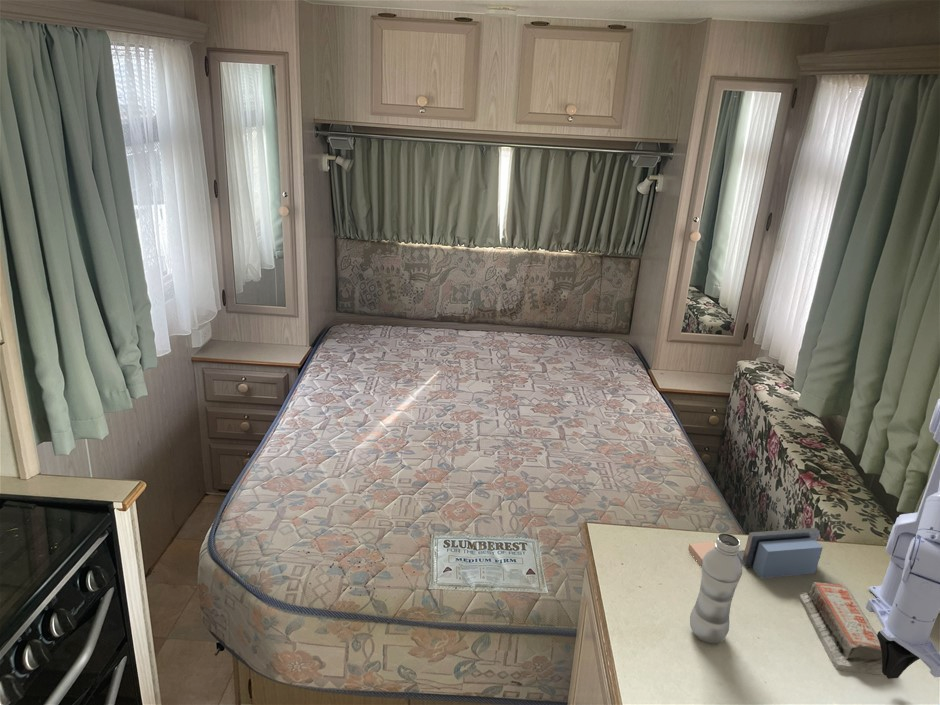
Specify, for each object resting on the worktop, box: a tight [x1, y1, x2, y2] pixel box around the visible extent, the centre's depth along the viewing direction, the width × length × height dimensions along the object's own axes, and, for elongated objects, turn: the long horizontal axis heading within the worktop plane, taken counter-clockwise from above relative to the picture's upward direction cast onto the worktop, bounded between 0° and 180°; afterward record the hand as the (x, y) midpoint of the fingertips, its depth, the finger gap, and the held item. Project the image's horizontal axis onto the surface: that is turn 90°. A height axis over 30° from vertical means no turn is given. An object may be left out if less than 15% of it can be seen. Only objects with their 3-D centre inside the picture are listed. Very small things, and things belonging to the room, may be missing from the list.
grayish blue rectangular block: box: [752, 538, 824, 579], centre depth 137 cm, size 12×3×6 cm, turn 101°
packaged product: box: [798, 581, 885, 676], centre depth 122 cm, size 18×5×10 cm
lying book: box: [687, 540, 716, 567], centre depth 141 cm, size 8×5×2 cm, turn 102°
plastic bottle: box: [689, 532, 743, 644], centre depth 117 cm, size 6×7×20 cm
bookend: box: [737, 527, 821, 568], centre depth 140 cm, size 15×4×8 cm, turn 101°
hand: (890, 674), depth 111 cm, fingers closed
